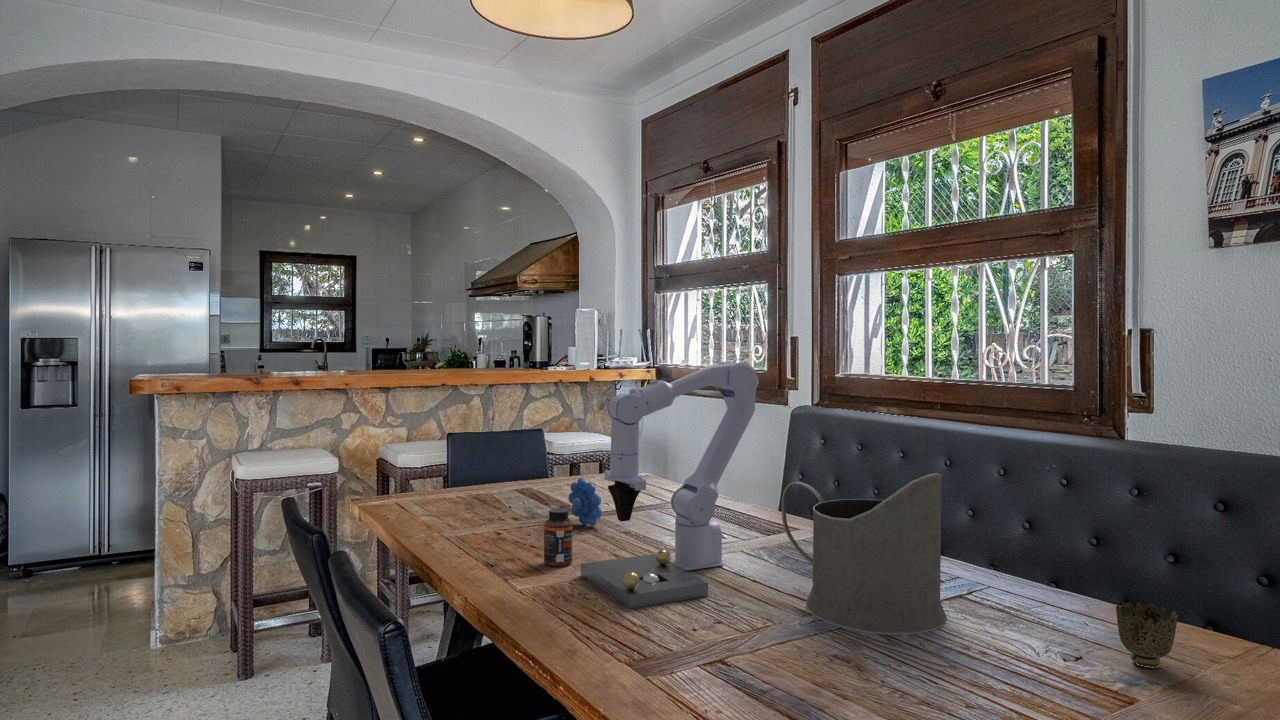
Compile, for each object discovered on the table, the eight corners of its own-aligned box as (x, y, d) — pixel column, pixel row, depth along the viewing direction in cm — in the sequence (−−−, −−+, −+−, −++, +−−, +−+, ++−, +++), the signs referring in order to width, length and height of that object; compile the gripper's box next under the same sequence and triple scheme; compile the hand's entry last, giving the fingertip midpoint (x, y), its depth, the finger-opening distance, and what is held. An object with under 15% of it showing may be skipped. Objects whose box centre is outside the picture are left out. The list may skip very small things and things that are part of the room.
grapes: (557, 524, 196) (557, 478, 196) (576, 520, 201) (576, 475, 201) (588, 531, 189) (588, 483, 188) (607, 527, 193) (607, 480, 193)
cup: (1103, 655, 113) (1103, 601, 113) (1149, 653, 113) (1150, 600, 113) (1140, 676, 105) (1141, 619, 105) (1190, 675, 106) (1190, 617, 106)
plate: (651, 565, 159) (651, 554, 159) (708, 595, 139) (708, 582, 139) (580, 575, 152) (580, 563, 152) (629, 608, 132) (629, 595, 132)
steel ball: (655, 585, 144) (652, 568, 144) (664, 590, 141) (661, 573, 141) (640, 591, 143) (636, 574, 142) (648, 596, 140) (645, 579, 139)
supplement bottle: (567, 568, 157) (567, 513, 156) (539, 566, 158) (540, 512, 158) (575, 560, 162) (576, 507, 162) (549, 559, 164) (549, 506, 163)
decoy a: (666, 562, 153) (666, 547, 153) (673, 565, 150) (673, 550, 150) (652, 563, 152) (653, 548, 152) (660, 567, 149) (660, 552, 149)
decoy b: (634, 585, 137) (634, 568, 137) (642, 590, 135) (642, 573, 135) (619, 587, 136) (619, 571, 136) (627, 592, 133) (627, 575, 133)
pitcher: (900, 646, 116) (901, 482, 116) (742, 595, 140) (743, 459, 140) (971, 612, 131) (972, 468, 131) (818, 572, 155) (819, 449, 155)
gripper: (591, 450, 159) (591, 515, 159) (623, 459, 146) (622, 529, 146) (621, 448, 162) (621, 512, 162) (655, 457, 150) (654, 526, 150)
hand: (623, 520), depth 155 cm, fingers closed
